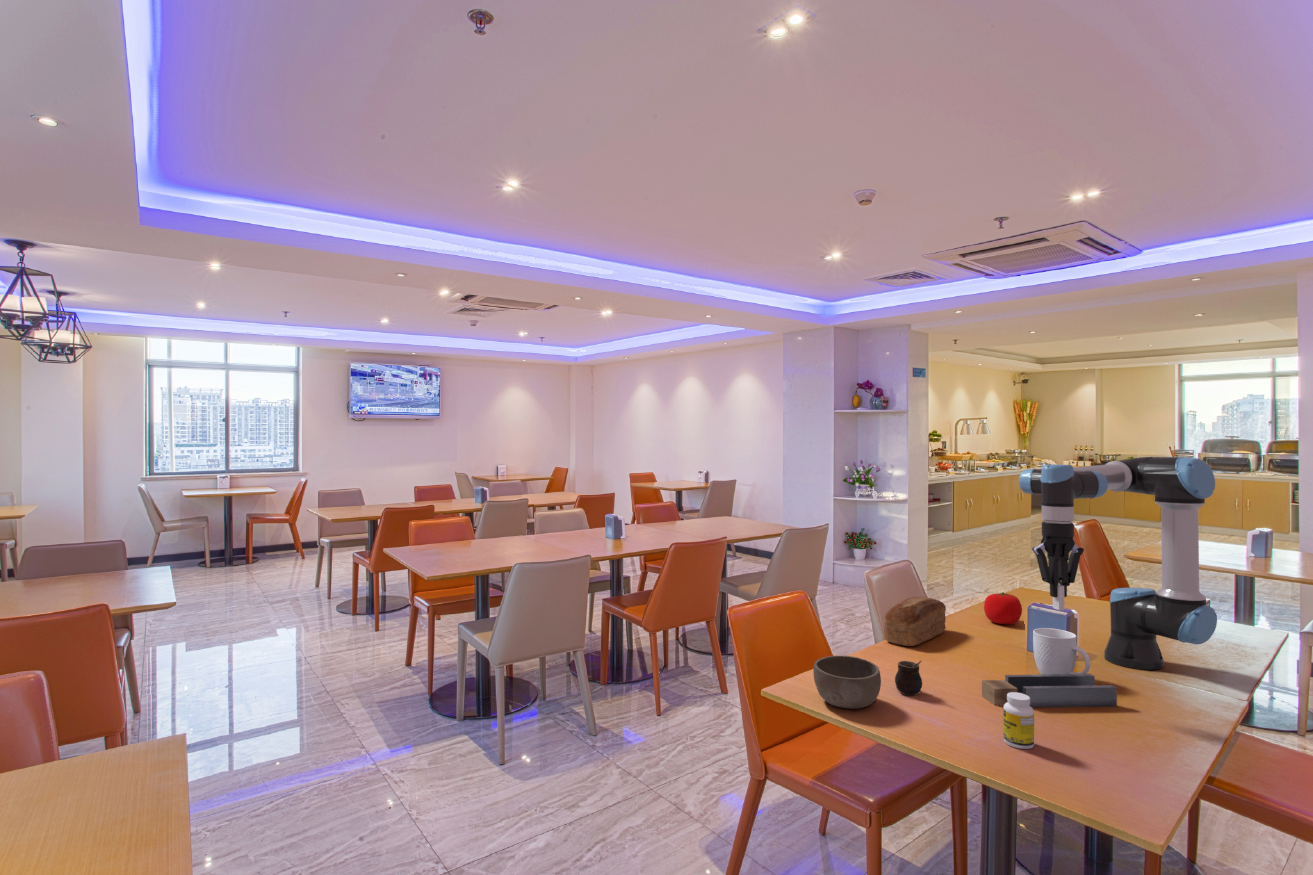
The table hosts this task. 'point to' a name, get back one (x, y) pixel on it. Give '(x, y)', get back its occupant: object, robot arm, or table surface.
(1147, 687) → the table surface
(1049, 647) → the mug
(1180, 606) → the robot arm
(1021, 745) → the pill bottle
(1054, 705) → the chute
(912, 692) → the mate gourd
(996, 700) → the block
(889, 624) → the bread
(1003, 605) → the tomato
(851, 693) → the bowl
